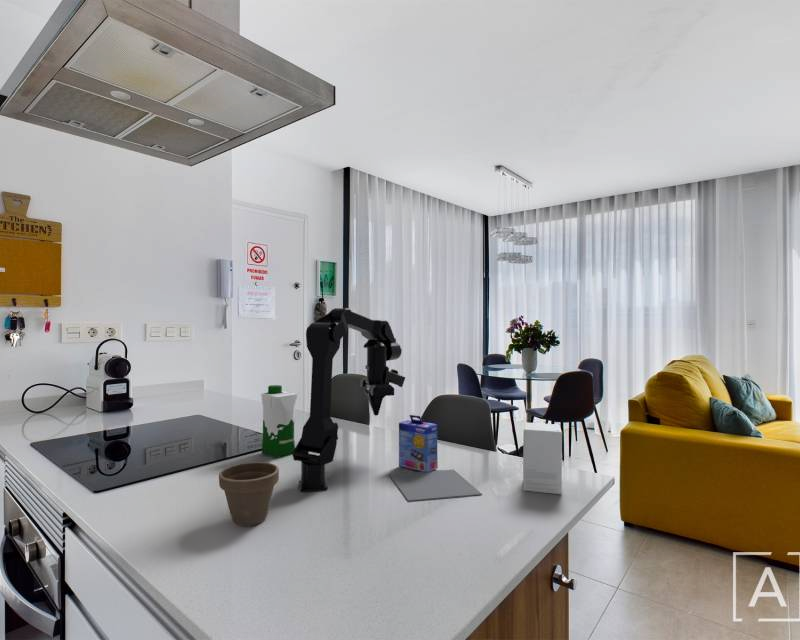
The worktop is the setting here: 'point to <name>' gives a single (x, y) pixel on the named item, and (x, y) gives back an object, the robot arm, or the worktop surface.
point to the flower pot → (249, 490)
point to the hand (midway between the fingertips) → (376, 415)
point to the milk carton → (278, 422)
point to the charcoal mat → (433, 485)
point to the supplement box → (542, 458)
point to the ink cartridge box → (418, 445)
